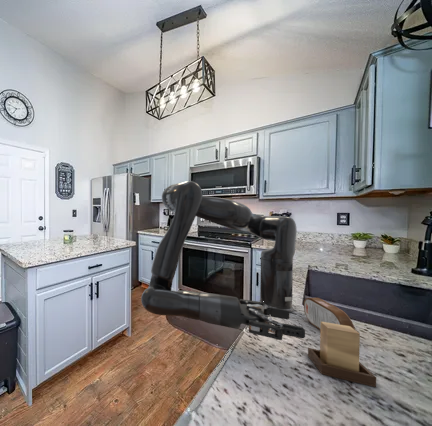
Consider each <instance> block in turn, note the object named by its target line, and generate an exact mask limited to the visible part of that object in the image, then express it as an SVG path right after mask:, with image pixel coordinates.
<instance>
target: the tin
mask: <svg viewBox="0 0 432 426" xmlns="http://www.w3.org/2000/svg"><path fill="white" fill-rule="evenodd" d="M303 311H304V312H303V313H304V315H305V317H306V319H307V320H308V322H309V323H310V324H311V325H312V326H314V327H316V329H318V330H320V329H321V322H327V323H333V324H339V325H345V326H350V327H352V328H353V329H354V330H356V328H355V325H354V322H353V320H352V319H351V318H350V316H349V315H348V314H347V313H346V312H345V311H344V310H342V309H341V308H339V307H337V306H336V305H333V304H331V303H329V302H327V301H326V300H325V299H322V298H320V297H306V298H305V299H304V300H303Z"/></svg>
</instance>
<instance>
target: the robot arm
mask: <svg viewBox="0 0 432 426" xmlns="http://www.w3.org/2000/svg"><path fill="white" fill-rule="evenodd" d="M161 202H162V204H163V206H164V208H166V209H167V210H168V211H170V212H172V213H174V215H173V219H172V221H171V223H170V225H169V227H168V229H167V230H166V232H165V234H164V235H163V237H162V238H161V239H160V242H159V243H158V245H157V248H156V250H155V253H154V257H153V260H152V264H151V269H150V270H151V271H150V273H151V276H150V280H149V283H148V284H149V285H148V287H147V288H146V289H145V290H143V292H142V294H141V297H140V301H141V305H142V307H143V308H144V309H145V310H146V312H148V313H150V314H152V315H157V316H167V317H182V318H185V319H191V320H195V321H201V322H204V323H206V324H209V325H215V326H220V327H225V328H229V329H235V330H239V329H240V328H241V325H245V326H247V327H248V333H249V334H253V335H257V336H261V337H266V338H270V339H274V340H279V341H283V337H284V336H288V337H292V338H298V339H305V338H306V329H305V328H304V327H303V326H300V325H296V324H289V323H284V322H279V321H277V320H275V319H272V318H276V319H280V320H281V319H282V320H286V321H287V320H289V319H290V313H291V312H292V311H293V281H294V279H293V276H294V275H293V274H294V273H293V272H294V271H293V270H294V269H293V268H294V265H293V264H294V256H295V252H296V245H297V244H296V241H297V232H298V231H297V230H298V229H297V223H296V221H295V220H294V219H293V218H292V217H290V216H281V215H278V216H277V215H260V214H257V213H253V212H252V210H251V208H249V207H248V206H247V205H245V204H243V203H241V202H239V201H235V200H233V199H229V198H223V197H222V198H221V197H217V196H215V197H214V196H206V195H204V194H203V190H202V188H201V186H200V185H199V184H198V183H197V182H195V181H190V180H187V181H182V182H177V183H172V184H170V185H169V186H167V187H166V188H164V190H163V191H162V193H161ZM196 217H197V218H200V219H203V220H205V221H207V222H210V223H213V224H216V225H218V226H222V227H224V228H228V229H231V230H235V231H240V232H246V233H249V234H251V235H253V236H255V237H257V238H259V239H262V240H264V241H270V242H274V246H273V247H272V248H269V249H263V250H261V252H260V288H259V289H260V291H259V295H260V296H259V297H260V298H259V300H258V301H255V300H249V299H243V298H238V297H237V296H232V295H225V294H218V293H211V292H198V291H193V290H184V289H183V290H182V289H181V290H177V291H176V290H172V288H173V281H174V278H175V275H176V272H177V269H178V265H179V261H180V257H181V255H182V250H183V247H184V245H185V241H186V240H187V237H188V235H189V232H190V231H191V228H192V226H193V223H194V221H195V219H196ZM263 301H264V302H263Z"/></svg>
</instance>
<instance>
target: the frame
mask: <svg viewBox="0 0 432 426" xmlns="http://www.w3.org/2000/svg"><path fill="white" fill-rule="evenodd" d="M307 356H308V358H309V359H310V361H311V362H312V364H313V365H314V366H315V368H316V369H317V371H319V372H320V374H321V375H323V376H326V377H332V378H336V379H340V380H343V381H348V382H352V383H356V384H360V385H364V386H369V387H373V388H377V377H376V375H374V374H373V373H372V372H371V371H370V370H369V369H368V368H367V367H366V366H365V365H364V364H363V363H361V362H360V361H359V372H357V371H352V370H348V369H344V368H339V367H335V366H330V365H326V364H323V362H322V361H321V360H320V349H316V348H311V347H307Z"/></svg>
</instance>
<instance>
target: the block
mask: <svg viewBox="0 0 432 426" xmlns="http://www.w3.org/2000/svg"><path fill="white" fill-rule="evenodd" d="M319 331H320V339H319V350H320V360H321V361H322V362H323V364H326V365H330V366H335V367H339V368H344V369H348V370H352V371H357V372H359V362H360V344H361V343H360V341H361V339H360V338H361V333H359V332H358V331H357V330H356V329H355V330H354V329H353V328H352V327H350V326H345V325H339V324H333V323H327V322H321V329H319Z"/></svg>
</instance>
